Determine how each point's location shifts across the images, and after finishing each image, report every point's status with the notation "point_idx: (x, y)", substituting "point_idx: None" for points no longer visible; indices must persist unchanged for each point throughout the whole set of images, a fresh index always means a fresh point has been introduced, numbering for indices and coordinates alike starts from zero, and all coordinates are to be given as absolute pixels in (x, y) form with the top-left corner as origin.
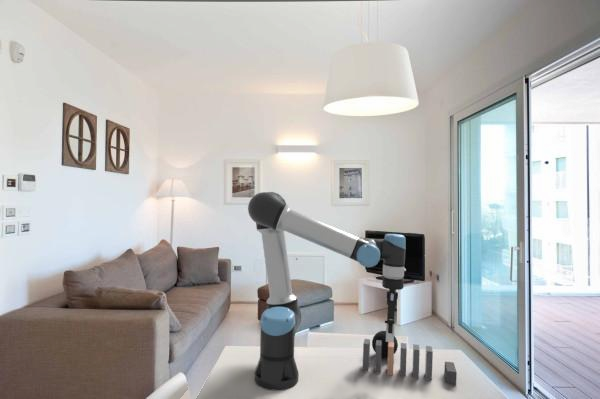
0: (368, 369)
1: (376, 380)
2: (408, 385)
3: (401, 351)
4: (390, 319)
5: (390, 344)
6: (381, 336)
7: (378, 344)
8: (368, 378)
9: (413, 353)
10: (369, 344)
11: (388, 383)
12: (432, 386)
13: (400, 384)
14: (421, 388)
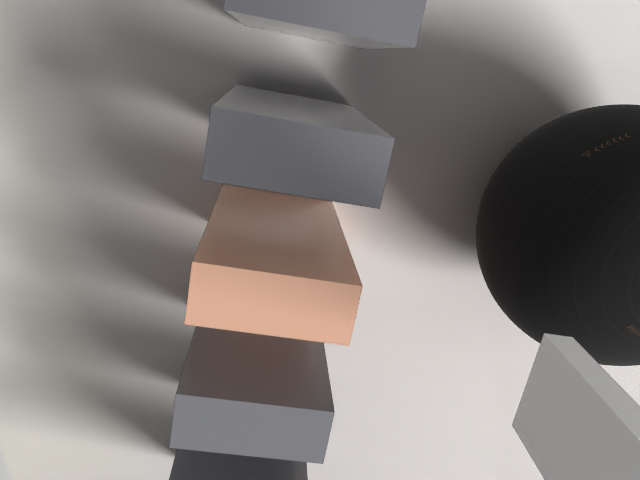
0: (271, 30)
1: (90, 80)
2: (68, 308)
3: (181, 379)
4: (609, 478)
5: (265, 296)
6: (605, 221)
7: (238, 147)
8: (111, 13)
9: (182, 475)
10: (331, 33)
11: (62, 171)
12: (94, 449)
13: (69, 256)
14: (46, 382)
